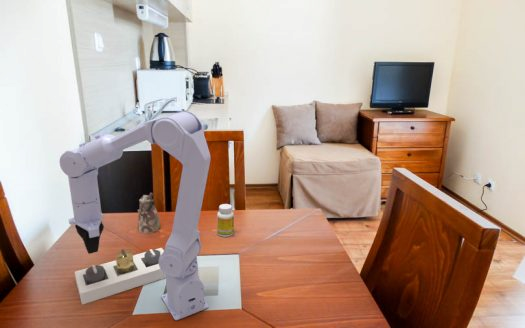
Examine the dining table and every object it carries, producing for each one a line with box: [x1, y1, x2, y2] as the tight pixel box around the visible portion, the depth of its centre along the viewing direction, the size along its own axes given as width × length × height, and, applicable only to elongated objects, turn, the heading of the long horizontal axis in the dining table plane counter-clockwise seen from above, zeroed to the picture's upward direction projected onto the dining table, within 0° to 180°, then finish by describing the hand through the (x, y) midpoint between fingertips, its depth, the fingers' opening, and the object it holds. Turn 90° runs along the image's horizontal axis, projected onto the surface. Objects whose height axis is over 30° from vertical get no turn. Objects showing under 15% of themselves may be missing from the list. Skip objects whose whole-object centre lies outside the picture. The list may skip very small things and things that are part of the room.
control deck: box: [74, 247, 166, 305], centre depth 90 cm, size 10×22×3 cm, turn 124°
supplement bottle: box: [216, 203, 235, 238], centre depth 113 cm, size 5×5×10 cm
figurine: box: [137, 192, 161, 235], centre depth 114 cm, size 7×7×12 cm
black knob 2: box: [145, 248, 160, 267], centre depth 93 cm, size 4×4×5 cm
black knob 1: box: [86, 264, 106, 285], centre depth 85 cm, size 4×4×5 cm
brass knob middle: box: [114, 248, 134, 275], centre depth 89 cm, size 4×4×5 cm
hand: (92, 251), depth 84 cm, fingers closed
